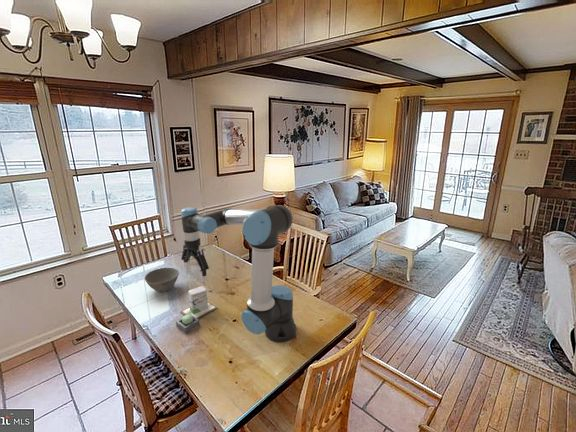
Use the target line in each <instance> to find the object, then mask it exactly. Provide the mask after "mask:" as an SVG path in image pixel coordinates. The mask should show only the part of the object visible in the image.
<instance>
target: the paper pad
mask: <svg viewBox="0 0 576 432" xmlns="http://www.w3.org/2000/svg"><path fill="white" fill-rule="evenodd" d="M217 309H218V306H216V305H214V304H212V303H211V302H210V301H208V309H206V310H203V311H200V312H198V313H195V314H193V313H192V312H191V311H190V306H189V307H187V308H185V309H183V310H181V311H180V314H181V315H183V316H185V315H189V314H191V315H193V316H194V317H196V318H197V319H199V320H200V319H201V318H203V317H205V316H207V315H209V314H211V313H212V312H214V311H215V310H217Z"/></svg>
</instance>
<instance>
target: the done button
mask: <svg viewBox="0 0 576 432" xmlns="http://www.w3.org/2000/svg"><path fill="white" fill-rule="evenodd" d="M181 318H182V324H183V325H185V326H187V325H189V324H191V323H192V322H193V316H192V315H185V316H184V315H183V316H182V317H181Z"/></svg>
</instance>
